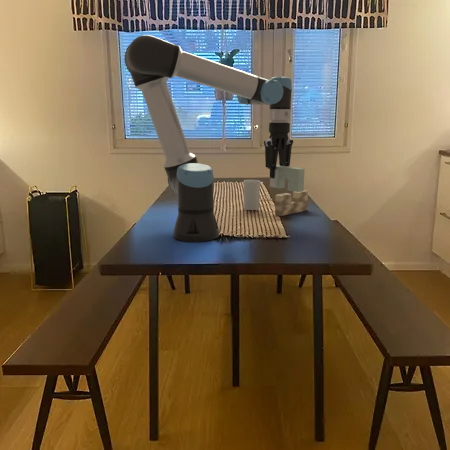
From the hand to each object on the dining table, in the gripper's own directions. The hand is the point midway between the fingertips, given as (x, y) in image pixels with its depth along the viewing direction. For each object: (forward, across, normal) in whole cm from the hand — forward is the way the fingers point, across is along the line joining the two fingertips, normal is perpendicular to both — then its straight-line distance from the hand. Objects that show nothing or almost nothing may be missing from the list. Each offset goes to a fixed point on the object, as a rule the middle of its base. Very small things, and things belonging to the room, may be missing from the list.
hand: (277, 186), depth 173 cm
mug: (+13, +6, +20) cm, 25 cm away
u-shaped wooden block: (+13, +14, +4) cm, 19 cm away
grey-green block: (0, 0, -5) cm, 5 cm away
